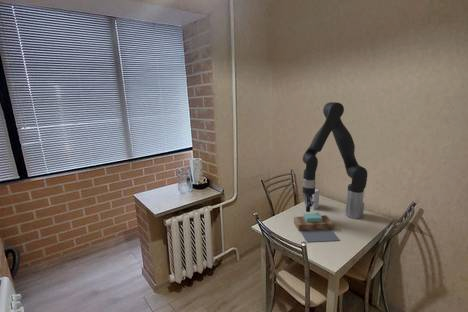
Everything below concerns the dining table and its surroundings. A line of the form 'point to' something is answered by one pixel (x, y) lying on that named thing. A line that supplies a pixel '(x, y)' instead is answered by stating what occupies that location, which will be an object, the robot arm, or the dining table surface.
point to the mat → (319, 236)
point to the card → (313, 217)
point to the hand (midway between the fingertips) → (307, 211)
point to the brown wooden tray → (313, 224)
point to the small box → (315, 199)
